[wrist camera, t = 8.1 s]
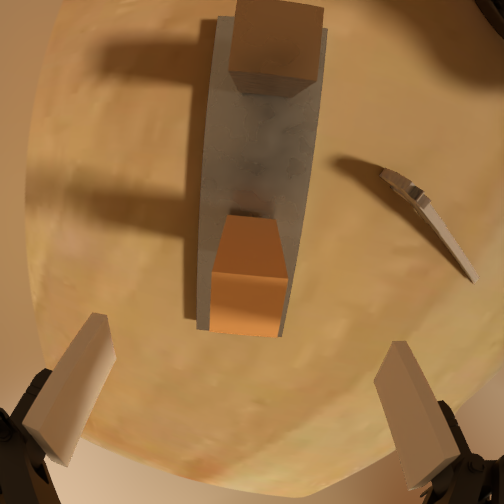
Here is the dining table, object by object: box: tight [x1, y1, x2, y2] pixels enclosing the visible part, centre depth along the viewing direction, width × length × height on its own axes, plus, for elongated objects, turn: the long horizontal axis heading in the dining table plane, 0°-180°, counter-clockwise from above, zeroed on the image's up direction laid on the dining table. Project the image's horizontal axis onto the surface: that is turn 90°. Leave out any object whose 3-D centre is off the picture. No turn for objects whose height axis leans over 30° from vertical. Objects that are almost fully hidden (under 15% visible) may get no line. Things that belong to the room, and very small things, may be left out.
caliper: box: [379, 168, 479, 284], centre depth 26 cm, size 20×1×6 cm, turn 54°
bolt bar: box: [197, 0, 328, 337], centre depth 21 cm, size 9×30×13 cm, turn 174°
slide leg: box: [209, 215, 288, 337], centre depth 22 cm, size 4×4×11 cm
